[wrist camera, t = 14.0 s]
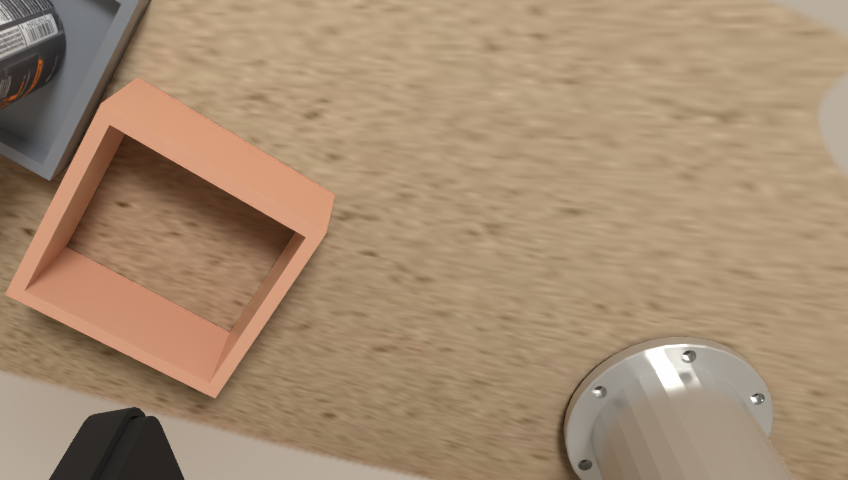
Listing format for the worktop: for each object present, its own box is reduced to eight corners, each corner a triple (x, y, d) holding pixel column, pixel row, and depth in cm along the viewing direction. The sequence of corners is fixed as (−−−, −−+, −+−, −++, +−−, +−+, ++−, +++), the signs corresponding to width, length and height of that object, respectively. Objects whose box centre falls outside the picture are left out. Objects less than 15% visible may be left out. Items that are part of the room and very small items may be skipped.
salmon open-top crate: (335, 194, 41) (326, 233, 36) (234, 346, 44) (215, 398, 40) (138, 77, 38) (101, 103, 33) (49, 250, 42) (5, 294, 37)
